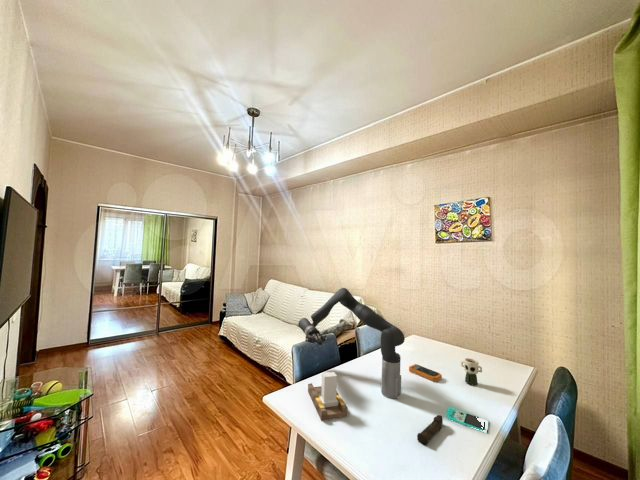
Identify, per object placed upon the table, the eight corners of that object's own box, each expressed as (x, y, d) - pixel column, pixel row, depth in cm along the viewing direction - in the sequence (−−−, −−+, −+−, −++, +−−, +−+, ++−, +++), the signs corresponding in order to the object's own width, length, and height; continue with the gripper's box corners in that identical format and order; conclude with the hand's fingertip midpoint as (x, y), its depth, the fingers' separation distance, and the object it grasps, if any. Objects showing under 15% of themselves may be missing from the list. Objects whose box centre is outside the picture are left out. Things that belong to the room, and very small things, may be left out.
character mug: (458, 381, 151) (458, 359, 152) (463, 378, 156) (463, 356, 157) (480, 389, 143) (480, 365, 144) (483, 385, 148) (483, 362, 149)
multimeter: (435, 383, 149) (436, 377, 149) (408, 371, 163) (408, 366, 163) (443, 379, 154) (443, 373, 154) (415, 368, 168) (415, 363, 168)
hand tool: (426, 448, 98) (426, 435, 98) (416, 442, 101) (416, 429, 101) (448, 428, 110) (448, 416, 110) (439, 423, 113) (439, 412, 114)
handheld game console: (449, 409, 125) (449, 406, 125) (489, 423, 115) (489, 419, 115) (445, 419, 116) (445, 416, 117) (487, 435, 107) (487, 431, 107)
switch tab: (319, 400, 123) (320, 372, 124) (333, 398, 125) (334, 370, 126) (322, 407, 117) (323, 378, 118) (338, 405, 119) (339, 376, 120)
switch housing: (307, 391, 134) (308, 383, 134) (329, 389, 138) (330, 381, 138) (321, 420, 111) (321, 410, 111) (347, 416, 115) (347, 407, 115)
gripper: (301, 327, 152) (308, 336, 136) (323, 326, 156) (332, 335, 139) (301, 340, 152) (308, 351, 135) (322, 339, 156) (332, 349, 139)
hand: (320, 343), depth 137 cm, fingers closed
